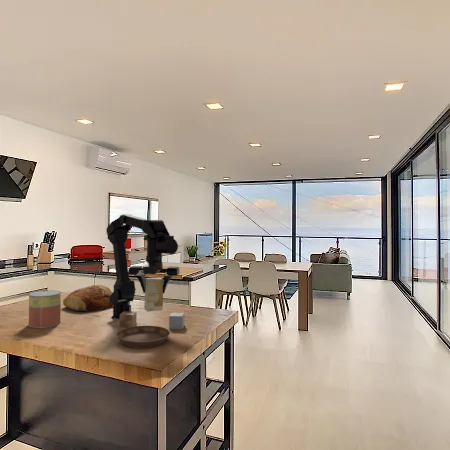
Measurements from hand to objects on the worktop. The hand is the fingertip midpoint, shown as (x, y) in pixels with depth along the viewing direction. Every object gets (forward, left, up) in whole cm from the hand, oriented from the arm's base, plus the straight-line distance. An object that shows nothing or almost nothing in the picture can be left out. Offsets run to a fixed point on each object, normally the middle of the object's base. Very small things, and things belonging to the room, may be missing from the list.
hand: (154, 293), depth 139 cm
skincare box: (0, 0, -7) cm, 7 cm away
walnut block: (-10, 0, -13) cm, 16 cm away
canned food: (-43, 0, -13) cm, 45 cm away
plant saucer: (+1, -17, -13) cm, 21 cm away
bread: (-39, +28, -13) cm, 50 cm away
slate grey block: (+9, 0, -13) cm, 16 cm away
